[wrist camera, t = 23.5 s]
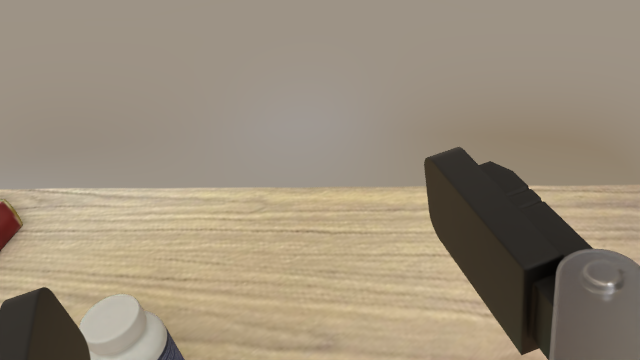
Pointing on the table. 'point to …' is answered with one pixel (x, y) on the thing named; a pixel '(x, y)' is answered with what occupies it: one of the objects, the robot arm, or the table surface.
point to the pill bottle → (126, 332)
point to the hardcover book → (8, 222)
